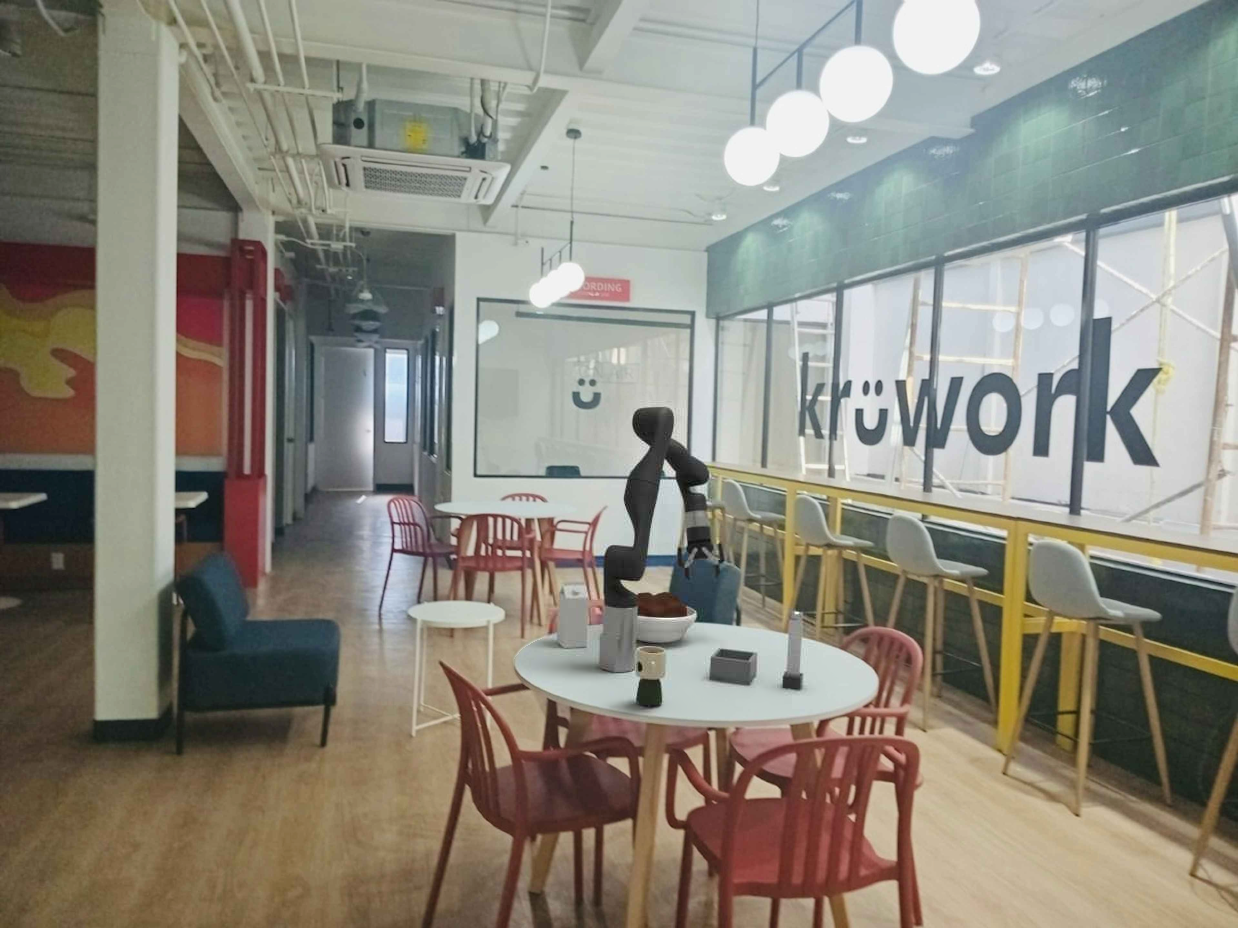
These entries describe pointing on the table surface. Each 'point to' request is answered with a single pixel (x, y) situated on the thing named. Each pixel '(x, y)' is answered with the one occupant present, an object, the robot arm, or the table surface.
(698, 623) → the table surface
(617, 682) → the table surface
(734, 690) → the table surface
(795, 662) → the brushed steel column
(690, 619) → the bowl of brownies
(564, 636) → the milk carton
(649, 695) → the character mug
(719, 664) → the holder
